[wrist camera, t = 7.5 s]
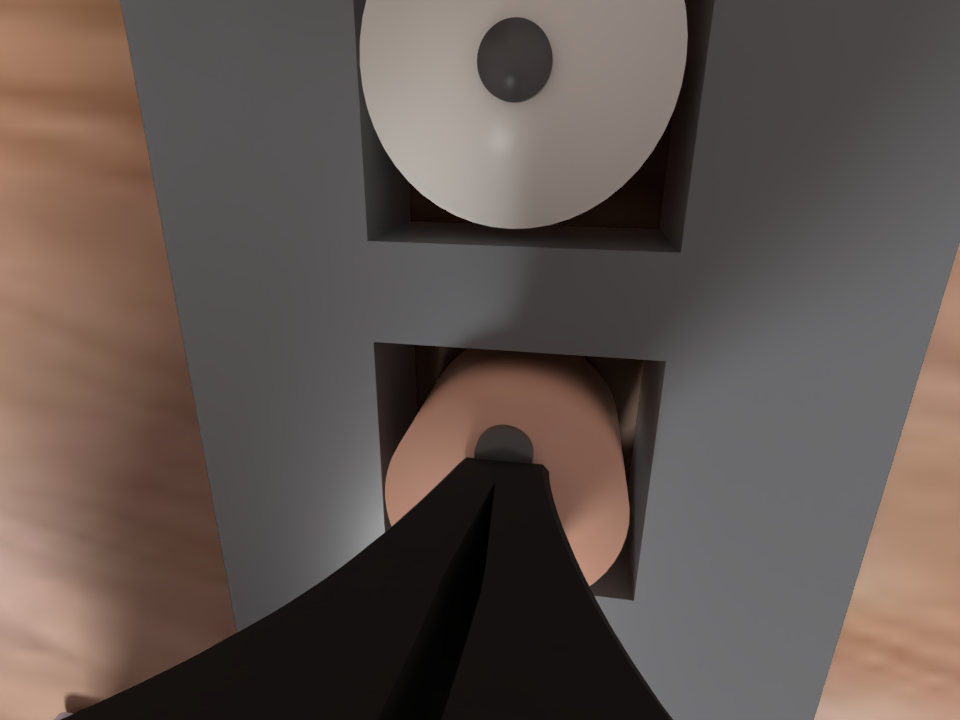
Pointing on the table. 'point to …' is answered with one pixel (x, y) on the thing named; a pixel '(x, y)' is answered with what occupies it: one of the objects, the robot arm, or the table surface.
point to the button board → (576, 311)
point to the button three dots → (524, 441)
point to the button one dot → (521, 99)
